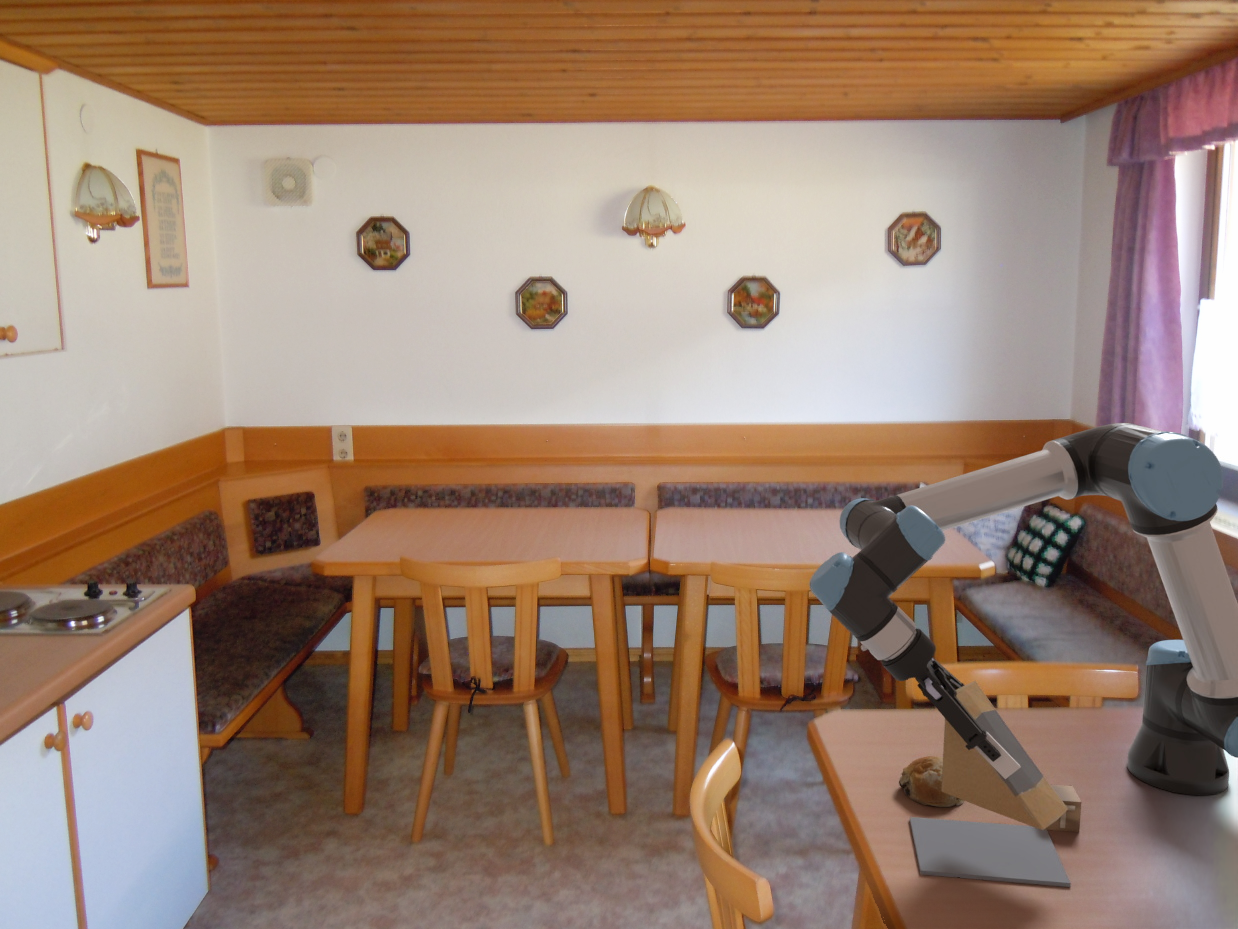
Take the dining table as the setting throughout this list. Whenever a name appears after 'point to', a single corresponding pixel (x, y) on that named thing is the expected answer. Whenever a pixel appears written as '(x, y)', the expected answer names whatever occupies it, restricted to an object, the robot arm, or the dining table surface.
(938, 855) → the grey rubber mat
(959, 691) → the sandwich container
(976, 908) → the dining table surface
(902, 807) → the dining table surface
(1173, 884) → the dining table surface
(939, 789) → the bread roll
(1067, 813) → the wooden letter cube
